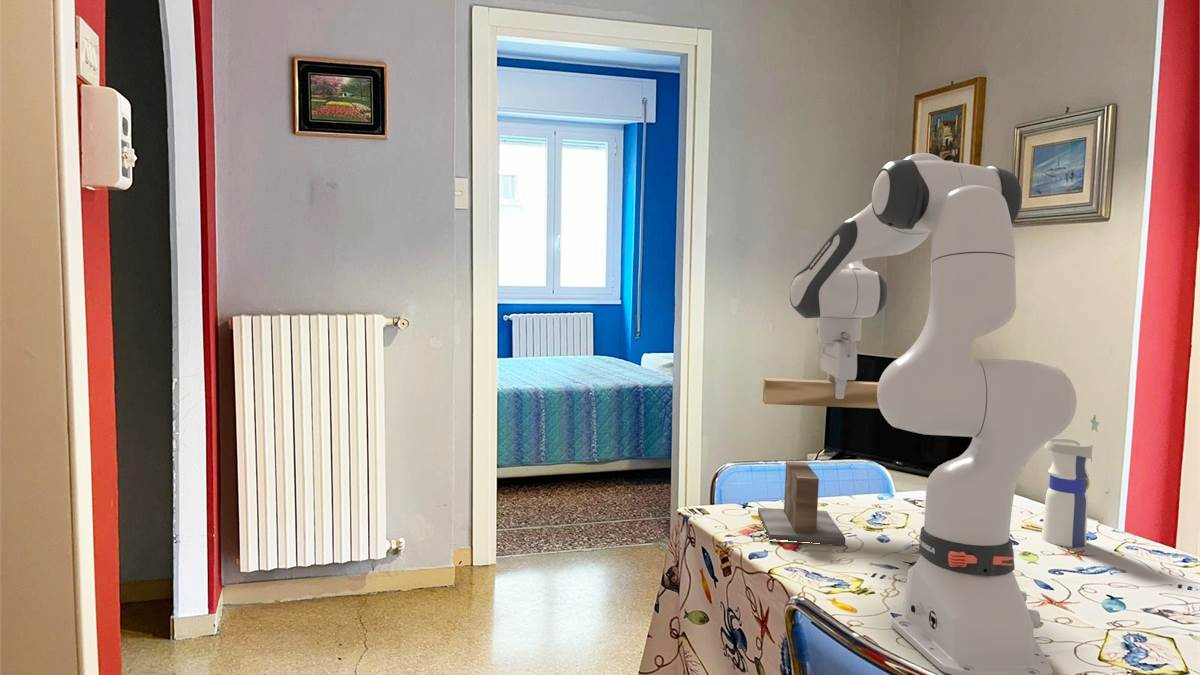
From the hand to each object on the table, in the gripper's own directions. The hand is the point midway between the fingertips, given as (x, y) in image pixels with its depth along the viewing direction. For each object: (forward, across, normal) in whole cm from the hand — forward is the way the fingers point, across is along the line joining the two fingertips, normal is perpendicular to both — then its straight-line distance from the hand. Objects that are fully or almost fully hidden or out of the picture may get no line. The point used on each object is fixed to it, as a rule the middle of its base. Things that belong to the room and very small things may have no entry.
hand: (836, 396), depth 177 cm
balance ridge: (+25, -14, +9) cm, 30 cm away
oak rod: (+2, 0, 0) cm, 2 cm away
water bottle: (+25, -12, -42) cm, 51 cm away
